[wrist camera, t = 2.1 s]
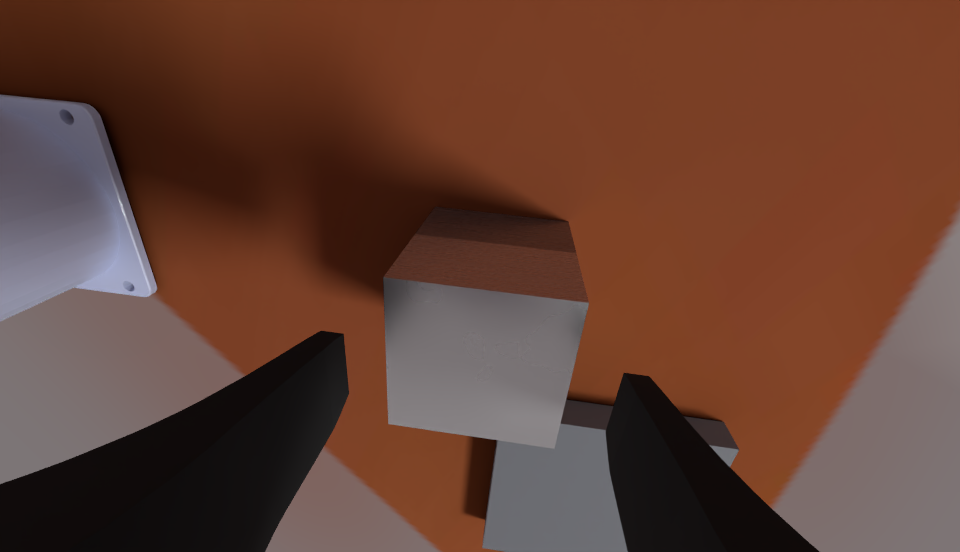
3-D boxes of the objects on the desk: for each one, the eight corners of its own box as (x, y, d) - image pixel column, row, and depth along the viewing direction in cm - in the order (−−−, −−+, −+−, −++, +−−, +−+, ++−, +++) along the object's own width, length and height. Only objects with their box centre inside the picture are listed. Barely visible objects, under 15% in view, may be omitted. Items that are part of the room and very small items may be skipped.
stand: (485, 520, 23) (482, 547, 22) (503, 390, 19) (501, 415, 17) (660, 549, 23) (668, 579, 21) (723, 421, 18) (739, 449, 17)
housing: (432, 317, 17) (388, 423, 12) (435, 206, 15) (382, 277, 10) (547, 332, 17) (554, 448, 12) (568, 221, 15) (588, 303, 9)
